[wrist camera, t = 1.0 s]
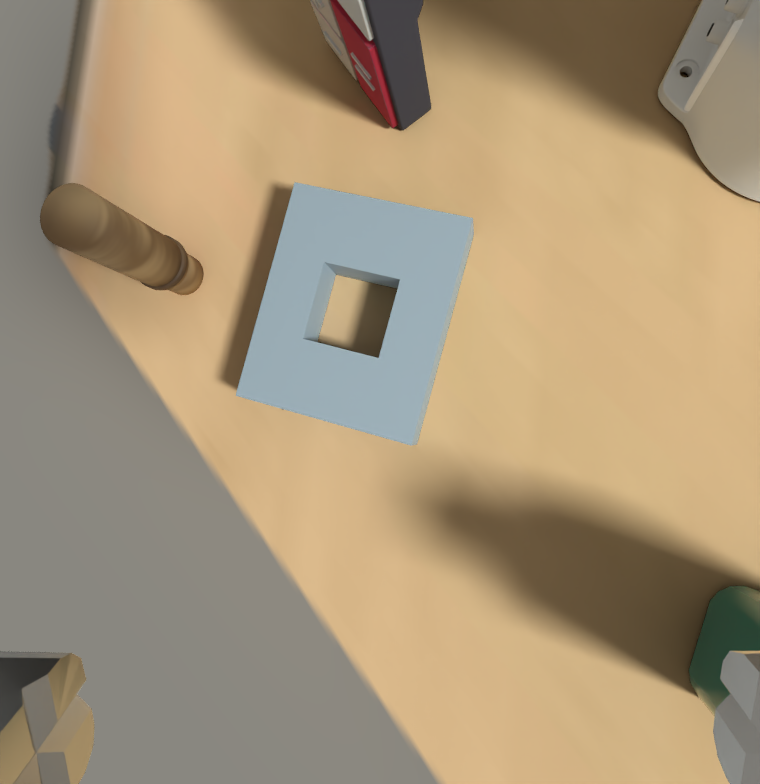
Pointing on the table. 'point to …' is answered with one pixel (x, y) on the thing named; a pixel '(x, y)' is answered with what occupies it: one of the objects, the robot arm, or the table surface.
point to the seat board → (310, 299)
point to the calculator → (380, 52)
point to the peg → (117, 240)
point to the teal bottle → (724, 640)
